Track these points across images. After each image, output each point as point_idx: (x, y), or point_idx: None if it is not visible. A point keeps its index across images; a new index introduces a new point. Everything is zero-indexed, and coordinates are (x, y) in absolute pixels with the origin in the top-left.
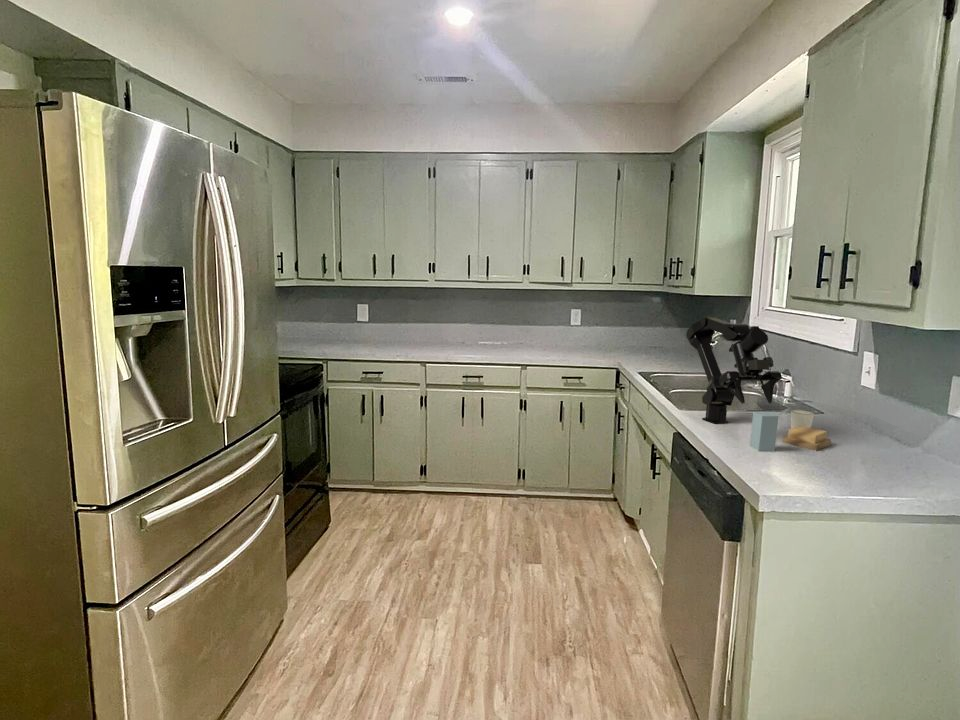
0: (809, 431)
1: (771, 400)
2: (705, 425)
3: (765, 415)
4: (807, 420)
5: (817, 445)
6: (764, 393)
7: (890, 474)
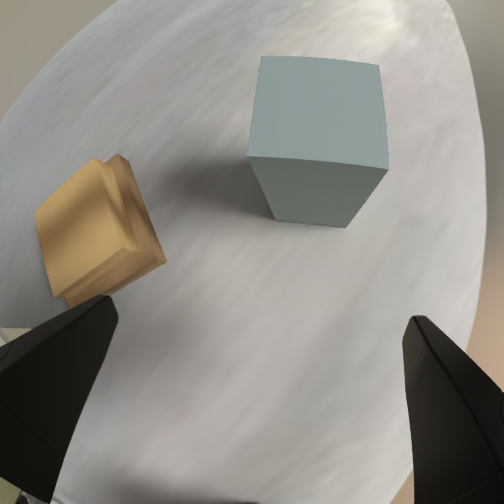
0: (73, 213)
1: (92, 299)
2: (338, 496)
3: (347, 73)
4: (16, 330)
5: (115, 157)
6: (72, 426)
7: (125, 33)
